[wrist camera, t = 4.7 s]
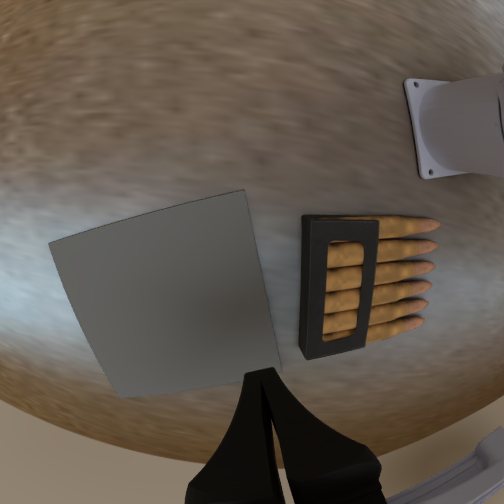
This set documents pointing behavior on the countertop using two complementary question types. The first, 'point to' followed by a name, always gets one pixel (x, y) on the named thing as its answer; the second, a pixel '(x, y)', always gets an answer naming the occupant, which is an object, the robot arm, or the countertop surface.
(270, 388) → the robot arm
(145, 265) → the mat
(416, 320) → the ammunition clip
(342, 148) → the countertop surface
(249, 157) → the countertop surface
